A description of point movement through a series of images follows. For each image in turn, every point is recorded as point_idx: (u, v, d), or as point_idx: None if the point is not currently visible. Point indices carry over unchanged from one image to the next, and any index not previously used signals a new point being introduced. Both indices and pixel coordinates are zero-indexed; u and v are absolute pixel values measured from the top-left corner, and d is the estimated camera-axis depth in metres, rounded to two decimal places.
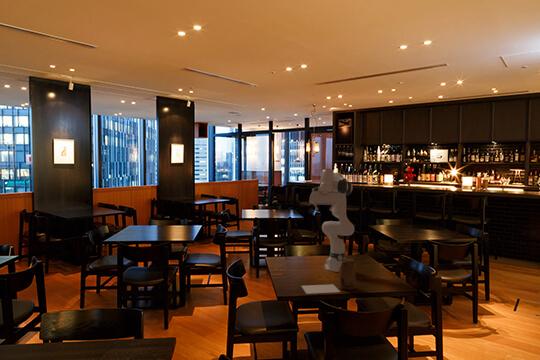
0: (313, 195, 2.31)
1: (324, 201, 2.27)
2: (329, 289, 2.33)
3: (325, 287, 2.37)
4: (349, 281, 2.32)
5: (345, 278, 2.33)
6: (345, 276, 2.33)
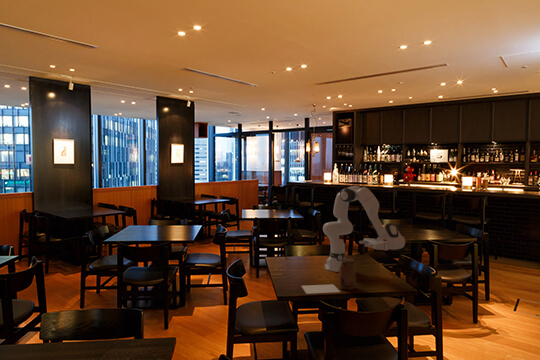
0: None
1: None
2: (329, 289, 2.33)
3: (325, 287, 2.37)
4: (349, 281, 2.32)
5: (345, 278, 2.33)
6: (345, 276, 2.33)
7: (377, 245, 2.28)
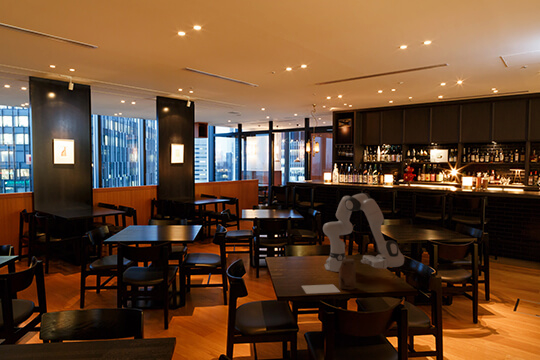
0: None
1: None
2: (329, 289, 2.33)
3: (325, 287, 2.37)
4: (349, 281, 2.32)
5: (345, 278, 2.33)
6: (345, 276, 2.33)
7: (376, 263, 2.28)
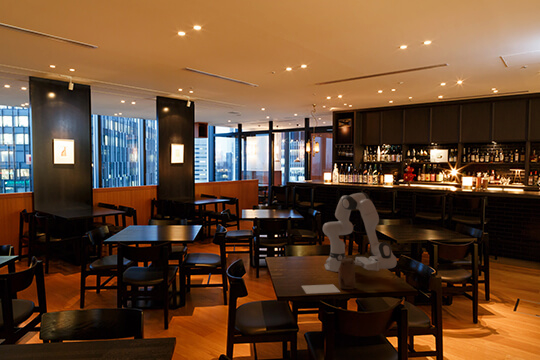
0: None
1: None
2: (329, 289, 2.33)
3: (325, 287, 2.37)
4: (349, 280, 2.32)
5: (344, 278, 2.33)
6: (344, 276, 2.33)
7: (369, 265, 2.28)
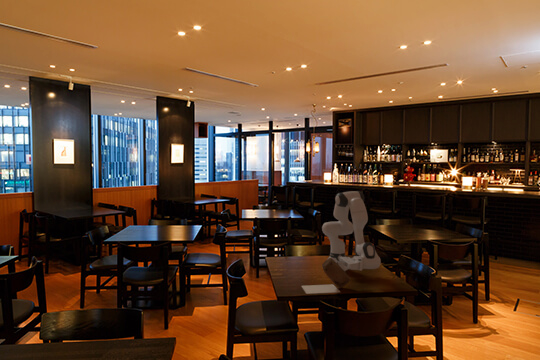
0: None
1: None
2: (329, 289, 2.33)
3: (325, 287, 2.37)
4: (341, 278, 2.32)
5: (336, 279, 2.32)
6: (335, 278, 2.32)
7: (351, 265, 2.26)
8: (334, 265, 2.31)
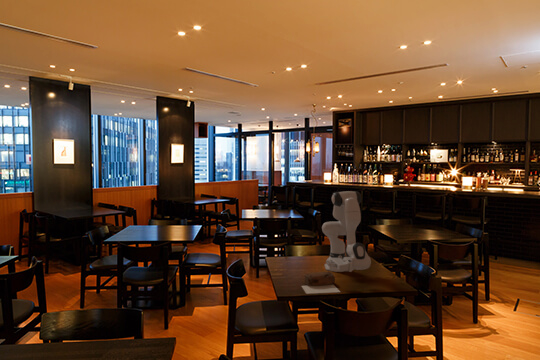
0: None
1: None
2: (329, 289, 2.33)
3: (325, 287, 2.37)
4: (323, 272, 2.47)
5: (323, 274, 2.43)
6: (321, 274, 2.43)
7: (341, 266, 2.25)
8: None
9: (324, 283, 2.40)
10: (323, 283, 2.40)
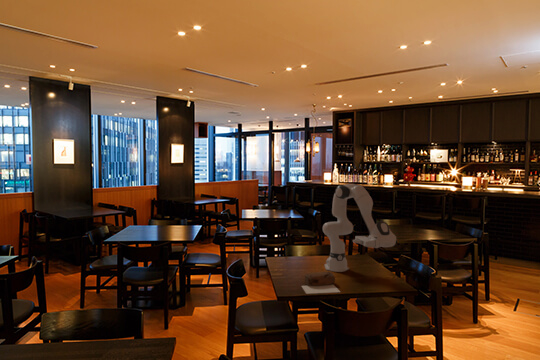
0: None
1: None
2: (329, 289, 2.33)
3: (325, 287, 2.37)
4: (323, 272, 2.47)
5: (323, 274, 2.43)
6: (321, 274, 2.43)
7: (368, 242, 2.27)
8: None
9: (324, 283, 2.40)
10: (323, 283, 2.40)
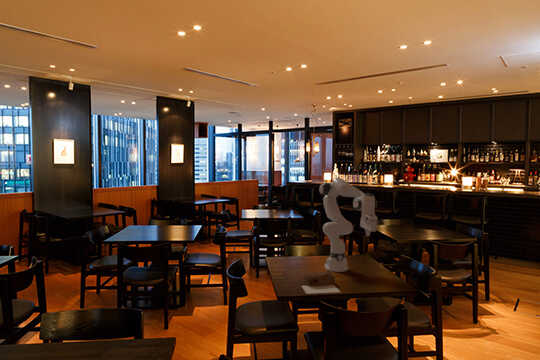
0: None
1: None
2: (329, 289, 2.33)
3: (325, 287, 2.37)
4: (323, 272, 2.47)
5: (323, 274, 2.43)
6: (321, 274, 2.43)
7: (372, 229, 2.35)
8: None
9: (324, 283, 2.40)
10: (323, 283, 2.40)
